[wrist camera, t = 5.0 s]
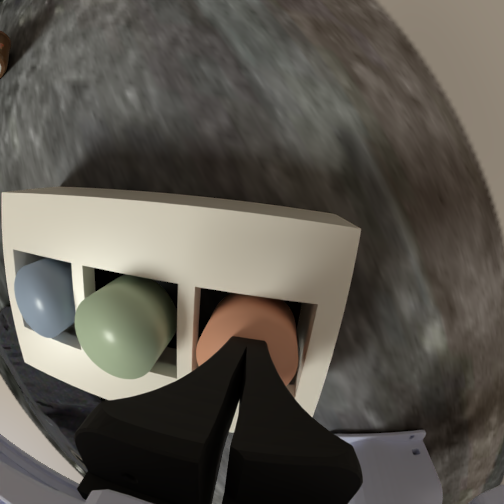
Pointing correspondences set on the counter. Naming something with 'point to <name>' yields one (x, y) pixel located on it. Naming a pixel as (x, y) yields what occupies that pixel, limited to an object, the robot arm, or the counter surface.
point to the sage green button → (126, 325)
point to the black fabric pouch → (47, 392)
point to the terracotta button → (253, 330)
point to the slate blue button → (46, 296)
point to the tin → (4, 52)
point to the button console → (181, 271)
